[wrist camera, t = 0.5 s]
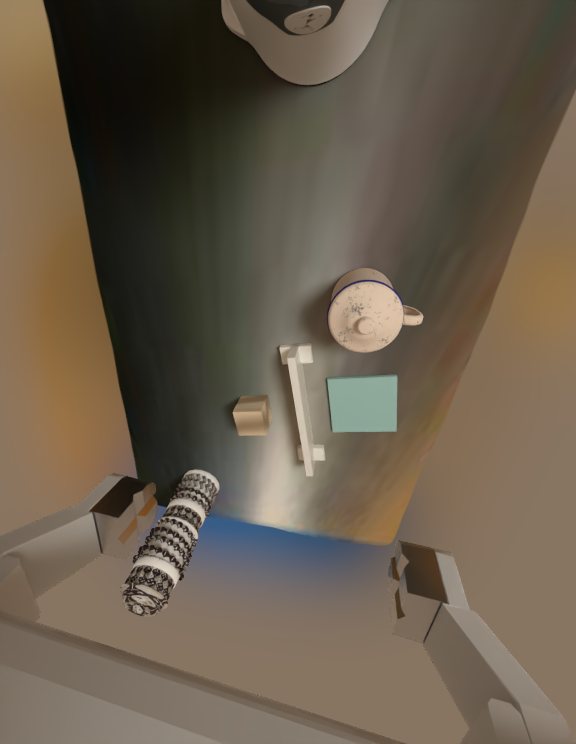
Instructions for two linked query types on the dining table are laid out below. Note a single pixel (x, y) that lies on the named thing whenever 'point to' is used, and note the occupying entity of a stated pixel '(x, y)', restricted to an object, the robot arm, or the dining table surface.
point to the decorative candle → (169, 545)
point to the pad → (363, 403)
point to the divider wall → (302, 402)
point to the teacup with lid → (367, 311)
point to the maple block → (252, 415)
